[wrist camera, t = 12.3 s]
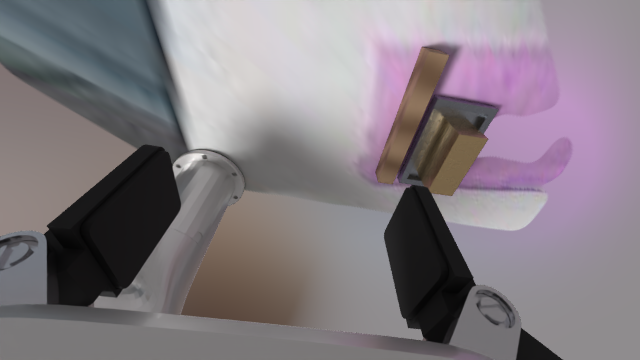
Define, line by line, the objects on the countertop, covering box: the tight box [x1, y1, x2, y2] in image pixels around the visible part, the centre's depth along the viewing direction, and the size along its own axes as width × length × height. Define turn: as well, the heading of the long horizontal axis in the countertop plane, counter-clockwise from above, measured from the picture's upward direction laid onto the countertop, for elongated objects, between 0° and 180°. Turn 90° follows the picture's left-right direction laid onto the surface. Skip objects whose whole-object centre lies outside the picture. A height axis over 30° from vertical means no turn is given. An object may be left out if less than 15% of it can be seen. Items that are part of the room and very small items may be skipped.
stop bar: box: [416, 116, 488, 196], centre depth 38 cm, size 4×10×6 cm, turn 171°
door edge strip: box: [375, 47, 449, 184], centre depth 37 cm, size 20×2×3 cm, turn 171°
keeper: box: [398, 95, 499, 186], centre depth 40 cm, size 15×9×2 cm, turn 171°
